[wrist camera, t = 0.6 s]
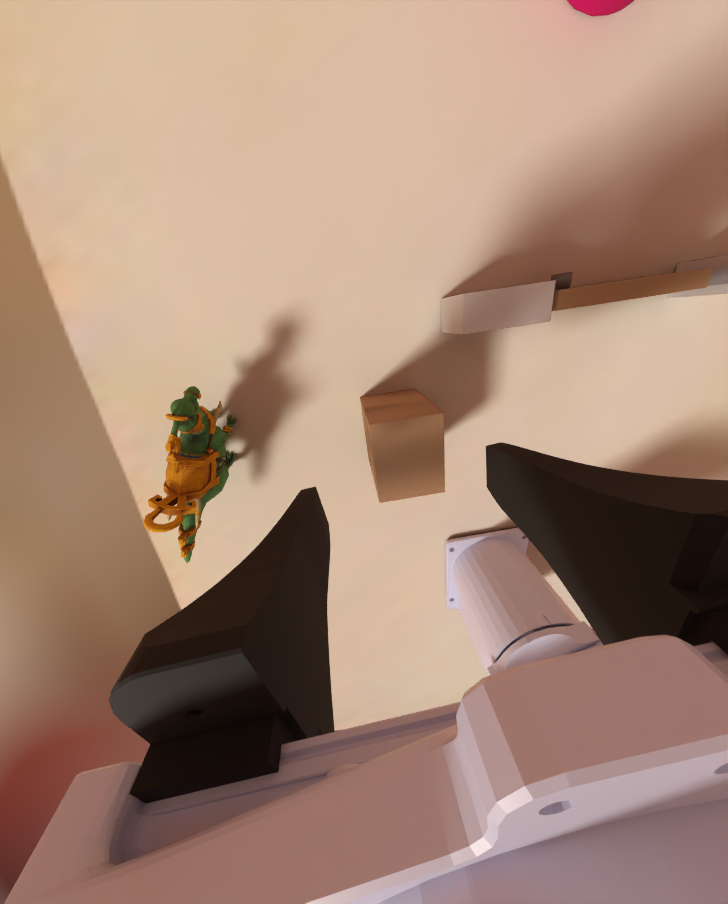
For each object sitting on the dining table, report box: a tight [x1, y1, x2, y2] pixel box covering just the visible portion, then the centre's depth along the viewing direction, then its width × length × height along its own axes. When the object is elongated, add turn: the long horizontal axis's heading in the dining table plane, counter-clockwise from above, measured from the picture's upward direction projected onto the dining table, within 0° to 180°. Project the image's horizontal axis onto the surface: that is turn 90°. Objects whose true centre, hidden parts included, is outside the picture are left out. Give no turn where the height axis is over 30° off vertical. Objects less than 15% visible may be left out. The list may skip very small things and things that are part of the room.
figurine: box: [144, 386, 237, 563], centre depth 17 cm, size 3×12×8 cm, turn 165°
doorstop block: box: [360, 389, 445, 503], centre depth 19 cm, size 5×4×6 cm
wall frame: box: [441, 255, 728, 335], centre depth 17 cm, size 2×20×4 cm, turn 98°
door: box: [551, 267, 714, 311], centre depth 17 cm, size 2×9×3 cm, turn 98°
